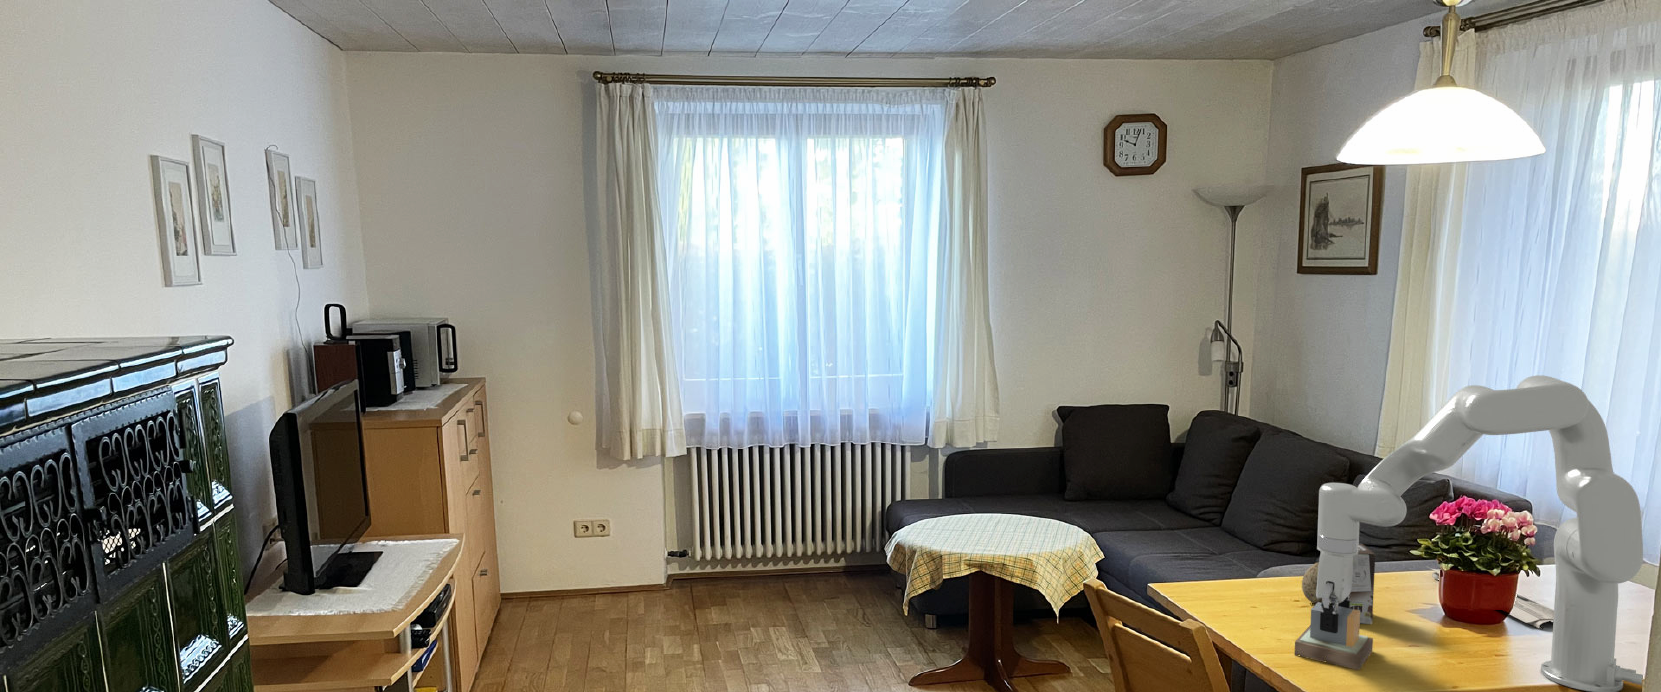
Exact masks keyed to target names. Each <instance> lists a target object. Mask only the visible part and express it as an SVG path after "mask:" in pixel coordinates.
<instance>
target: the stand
mask: <svg viewBox="0 0 1661 692" xmlns="http://www.w3.org/2000/svg"><path fill="white" fill-rule="evenodd" d="M1310 626H1311V624H1310V625H1309V626H1308V627H1307V628H1306V629H1305V630H1304V631H1303V632H1302V633H1301V635H1300V636H1298V637H1297V639H1296V640H1295V641H1294V656H1298V655H1300V656H1299V657H1302V656H1303V657H1302V658H1306V657H1308V658H1307V659H1310V658H1312V659H1311V660H1314V659H1315V660H1316V661H1319V662H1323V661H1326V662H1325V663H1327V662H1328V664H1332V665H1335V666H1340V667H1343V668H1344V667H1345V668H1349V669H1353V670H1357V671H1360V670H1361V668H1362V667H1363V665H1364V664H1365V662H1366V661H1367V660H1368V658H1369V657H1370V655H1371V654H1372V653H1373V649H1374V646H1373V643H1374V637H1369V636H1368V635H1363V634H1359V640H1358V641H1357V642H1356V643H1355V645H1354V646H1353V647H1350V646H1346V645H1341V644H1337V643H1333V642H1328V641H1324V640H1319V639H1315V638H1310Z"/></svg>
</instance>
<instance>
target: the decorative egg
mask: <svg viewBox="0 0 1661 692" xmlns="http://www.w3.org/2000/svg"><path fill="white" fill-rule="evenodd" d="M1318 566H1319V562H1315V563H1314V564H1312V565H1311V566H1310V567H1308V569H1306V571H1305V573H1303V577H1302V580H1301V590H1302V593H1303V595H1304V596H1305V598H1306V599H1307V600H1308V601H1310V602H1311V603H1313V604H1314V605H1316V604H1317V603H1318V602H1320V603H1322V598H1321V599H1318V598H1317V597H1316V589H1317V577H1318ZM1331 598H1332V597H1331Z"/></svg>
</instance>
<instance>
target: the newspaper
mask: <svg viewBox="0 0 1661 692" xmlns="http://www.w3.org/2000/svg"><path fill="white" fill-rule="evenodd" d="M1426 567H1427V568H1428V569H1429V570H1432V571H1433V572H1431V577H1432V578H1433V579H1434V580H1436V581H1438V579H1439V571H1438V570H1440V569H1438V568H1437V569H1436V568H1431V567H1429V566H1426ZM1516 594H1517V597H1516V601H1515V604H1514V609H1513V611H1512V613H1511V614H1509V615H1510V616H1512V617H1514V618H1516V619H1518V620H1520V621H1521V622H1524V623H1527V624H1529V625H1532V626H1533V627H1536V628H1537V629H1540V630H1541V629H1542V628H1541V627H1542V626H1541V625H1542V624H1544V623H1547V622H1549V621H1553V620H1554V609H1552V608H1550V607H1548V606H1545V605H1543V604H1540V603H1537V602H1536V601H1533V600H1531V599H1530V598H1526V597H1525V596H1522V595H1520V594H1518V593H1516ZM1540 626H1541V627H1540Z"/></svg>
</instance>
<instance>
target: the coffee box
mask: <svg viewBox="0 0 1661 692" xmlns="http://www.w3.org/2000/svg"><path fill="white" fill-rule="evenodd" d="M1375 571H1376V553H1375V552H1374V551H1372V550H1371V549H1369V548H1368V547H1367V546H1366V545H1365V544H1364V543H1360V542H1359V546H1358V554H1357V555H1354V556H1353V580H1352V590H1351V592H1350V599H1349V601H1350V609H1354V610H1359V611H1360V624H1364V625H1373V613H1374V595H1375V594H1374V593H1375V591H1374V589H1375ZM1332 598H1333V597H1332Z"/></svg>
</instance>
